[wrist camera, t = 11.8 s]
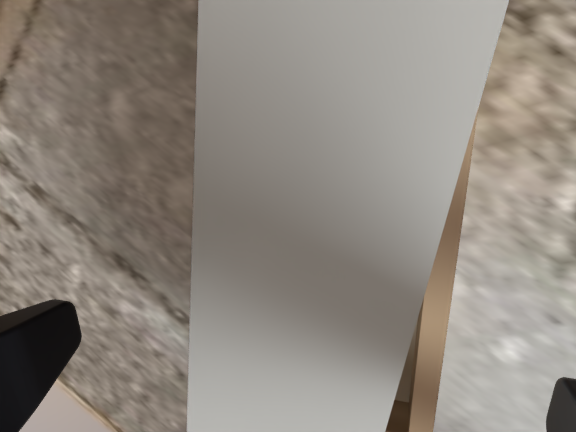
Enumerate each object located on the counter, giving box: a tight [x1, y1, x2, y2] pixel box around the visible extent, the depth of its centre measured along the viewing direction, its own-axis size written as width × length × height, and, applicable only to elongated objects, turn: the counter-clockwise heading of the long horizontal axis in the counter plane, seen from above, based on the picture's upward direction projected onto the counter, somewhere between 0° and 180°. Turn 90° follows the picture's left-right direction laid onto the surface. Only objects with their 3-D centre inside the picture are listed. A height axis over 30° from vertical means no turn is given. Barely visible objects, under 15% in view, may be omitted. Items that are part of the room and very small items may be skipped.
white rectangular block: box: [187, 0, 509, 432], centre depth 11 cm, size 14×4×6 cm, turn 173°
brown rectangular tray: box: [385, 110, 478, 432], centre depth 14 cm, size 17×7×2 cm, turn 1°
